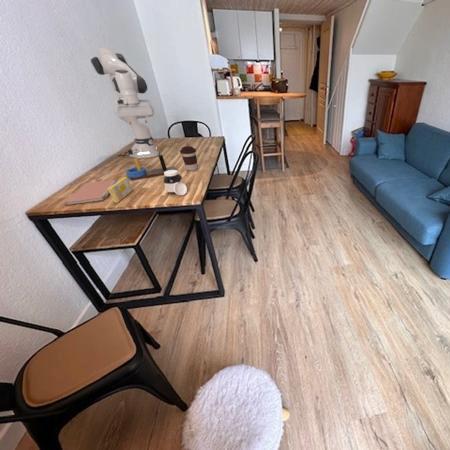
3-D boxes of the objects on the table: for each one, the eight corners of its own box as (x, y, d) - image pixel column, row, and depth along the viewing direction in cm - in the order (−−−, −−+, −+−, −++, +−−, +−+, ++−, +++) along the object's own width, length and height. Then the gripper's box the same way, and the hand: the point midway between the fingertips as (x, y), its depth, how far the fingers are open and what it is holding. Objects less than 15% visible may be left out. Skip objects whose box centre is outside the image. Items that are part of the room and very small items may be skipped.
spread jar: (174, 187, 145) (169, 168, 138) (193, 188, 144) (188, 169, 137) (163, 196, 134) (156, 176, 128) (182, 197, 133) (177, 176, 127)
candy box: (129, 190, 142) (124, 176, 137) (133, 190, 142) (128, 176, 138) (113, 203, 128) (107, 188, 124) (118, 202, 128) (111, 188, 124)
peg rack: (131, 180, 155) (125, 162, 149) (131, 175, 163) (124, 158, 157) (176, 172, 167) (171, 155, 161) (173, 168, 174) (169, 152, 168)
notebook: (105, 200, 131) (103, 196, 130) (67, 205, 126) (65, 201, 125) (118, 182, 153) (117, 179, 152) (86, 185, 148) (84, 182, 147)
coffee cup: (202, 167, 176) (198, 146, 168) (193, 172, 168) (188, 149, 160) (191, 166, 179) (186, 145, 171) (181, 170, 171) (175, 148, 163)
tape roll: (127, 178, 154) (125, 173, 152) (127, 173, 161) (125, 169, 160) (147, 175, 158) (145, 170, 157) (146, 170, 166) (144, 166, 165)
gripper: (149, 99, 163) (155, 121, 170) (112, 100, 153) (120, 124, 161) (150, 99, 158) (156, 122, 165) (112, 101, 149) (120, 125, 156)
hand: (138, 123), depth 163 cm, fingers open, 8 cm apart
